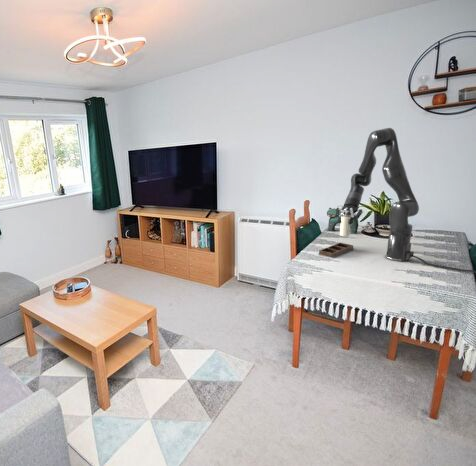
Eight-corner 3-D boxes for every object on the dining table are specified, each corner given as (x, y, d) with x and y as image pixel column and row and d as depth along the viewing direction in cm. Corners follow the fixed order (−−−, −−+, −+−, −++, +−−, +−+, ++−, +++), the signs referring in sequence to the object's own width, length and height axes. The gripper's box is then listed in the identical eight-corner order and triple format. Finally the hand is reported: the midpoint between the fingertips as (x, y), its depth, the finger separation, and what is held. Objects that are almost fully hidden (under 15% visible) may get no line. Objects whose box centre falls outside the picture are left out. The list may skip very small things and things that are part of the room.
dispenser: (350, 235, 192) (353, 210, 188) (346, 236, 190) (348, 211, 186) (342, 233, 197) (344, 209, 193) (337, 235, 195) (339, 210, 190)
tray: (353, 249, 194) (353, 245, 194) (332, 258, 184) (332, 253, 184) (339, 246, 201) (339, 242, 200) (318, 254, 191) (319, 250, 190)
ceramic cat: (324, 230, 237) (326, 205, 232) (328, 228, 241) (330, 203, 235) (355, 234, 221) (358, 207, 216) (358, 232, 225) (361, 205, 220)
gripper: (338, 196, 198) (329, 218, 194) (365, 197, 186) (357, 221, 182) (341, 203, 202) (332, 225, 198) (367, 204, 191) (359, 227, 187)
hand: (344, 223), depth 190 cm, fingers closed on dispenser, 5 cm apart
